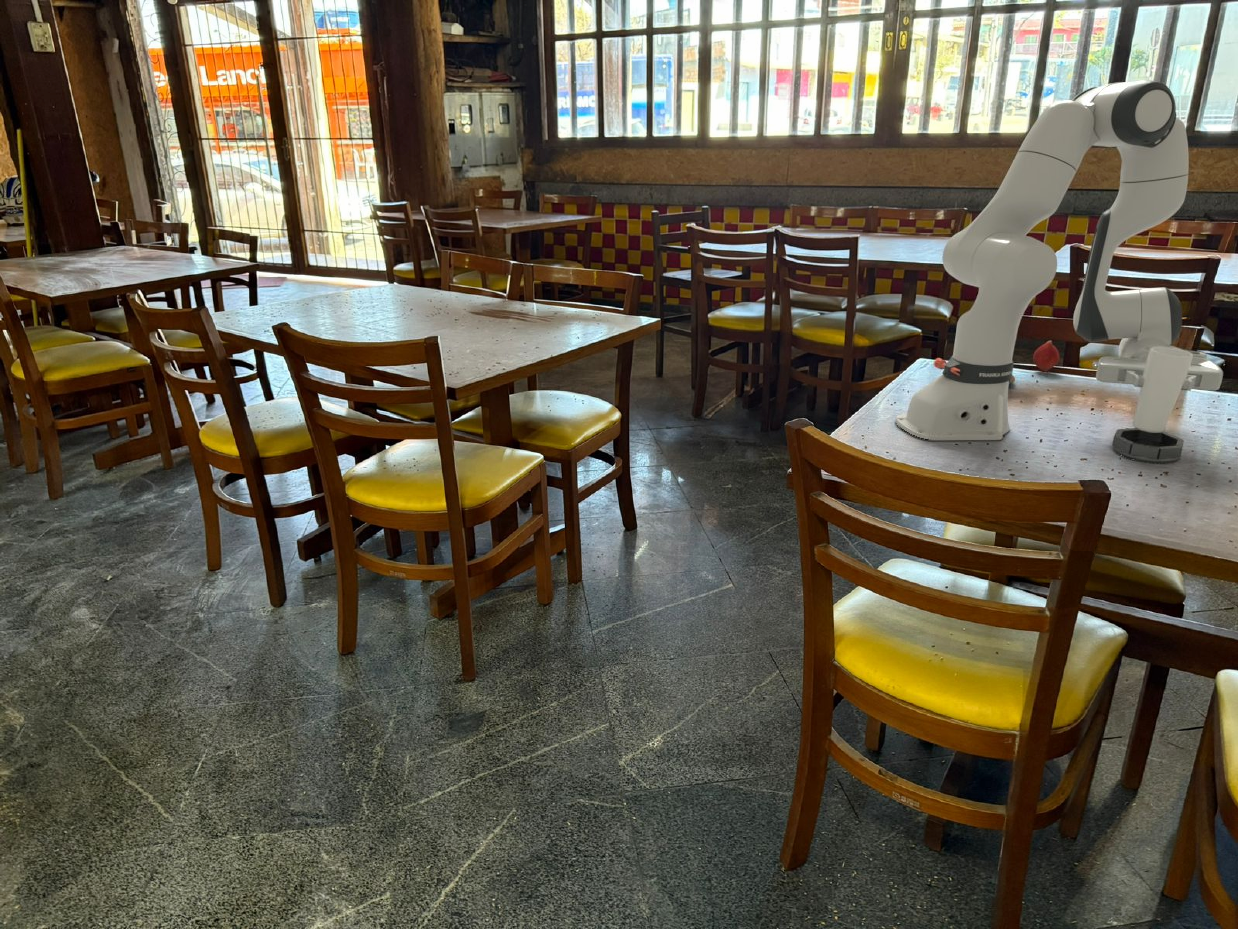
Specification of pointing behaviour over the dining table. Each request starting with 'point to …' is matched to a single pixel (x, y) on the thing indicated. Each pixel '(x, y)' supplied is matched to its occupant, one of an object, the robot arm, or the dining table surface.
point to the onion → (1046, 356)
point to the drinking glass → (1161, 387)
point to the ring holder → (1147, 446)
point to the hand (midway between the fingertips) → (1163, 384)
